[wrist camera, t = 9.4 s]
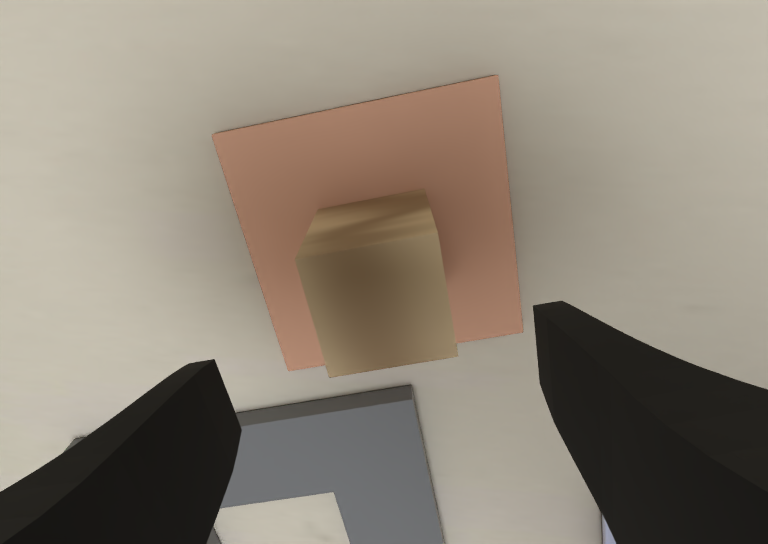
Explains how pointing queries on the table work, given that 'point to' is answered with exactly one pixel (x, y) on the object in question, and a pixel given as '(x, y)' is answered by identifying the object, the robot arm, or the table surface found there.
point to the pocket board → (342, 464)
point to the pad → (377, 179)
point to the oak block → (377, 284)
